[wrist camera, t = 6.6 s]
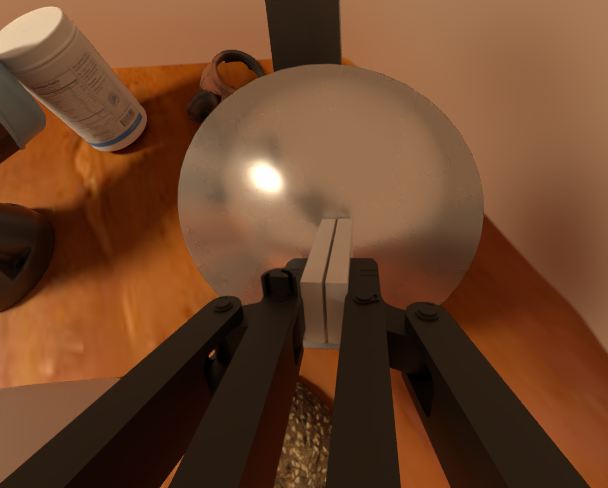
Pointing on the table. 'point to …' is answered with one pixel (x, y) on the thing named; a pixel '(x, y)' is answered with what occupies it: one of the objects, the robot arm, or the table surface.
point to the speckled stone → (305, 443)
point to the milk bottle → (41, 415)
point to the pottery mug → (217, 84)
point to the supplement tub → (71, 78)
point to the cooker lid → (328, 171)
